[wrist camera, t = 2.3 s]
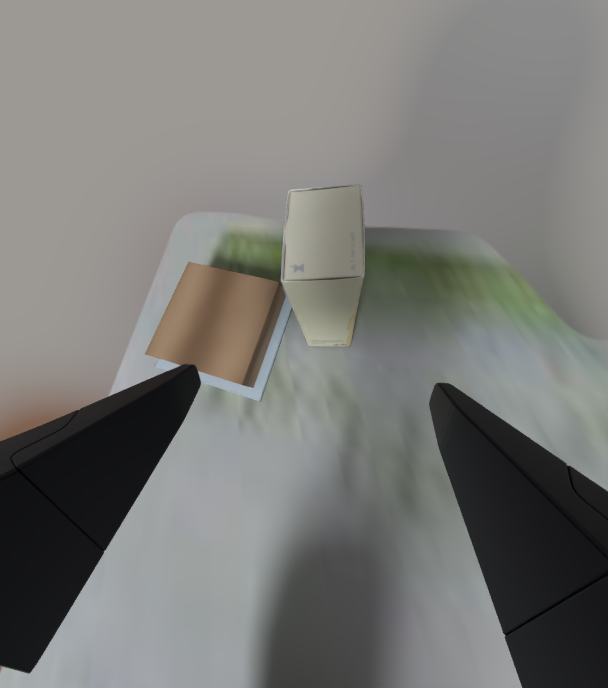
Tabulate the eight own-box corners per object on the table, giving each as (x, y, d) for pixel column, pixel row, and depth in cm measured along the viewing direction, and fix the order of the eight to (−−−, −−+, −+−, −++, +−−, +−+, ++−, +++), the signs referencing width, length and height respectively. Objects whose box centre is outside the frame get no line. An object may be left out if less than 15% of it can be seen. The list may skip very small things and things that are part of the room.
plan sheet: (297, 291, 25) (297, 290, 25) (260, 401, 22) (259, 401, 22) (201, 269, 27) (200, 268, 27) (157, 367, 25) (155, 366, 24)
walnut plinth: (285, 296, 25) (279, 281, 22) (253, 388, 23) (241, 385, 20) (204, 277, 27) (188, 261, 24) (167, 360, 24) (145, 353, 22)
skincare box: (351, 347, 23) (369, 283, 11) (305, 346, 23) (278, 285, 12) (350, 289, 24) (366, 180, 13) (308, 289, 25) (286, 186, 13)
